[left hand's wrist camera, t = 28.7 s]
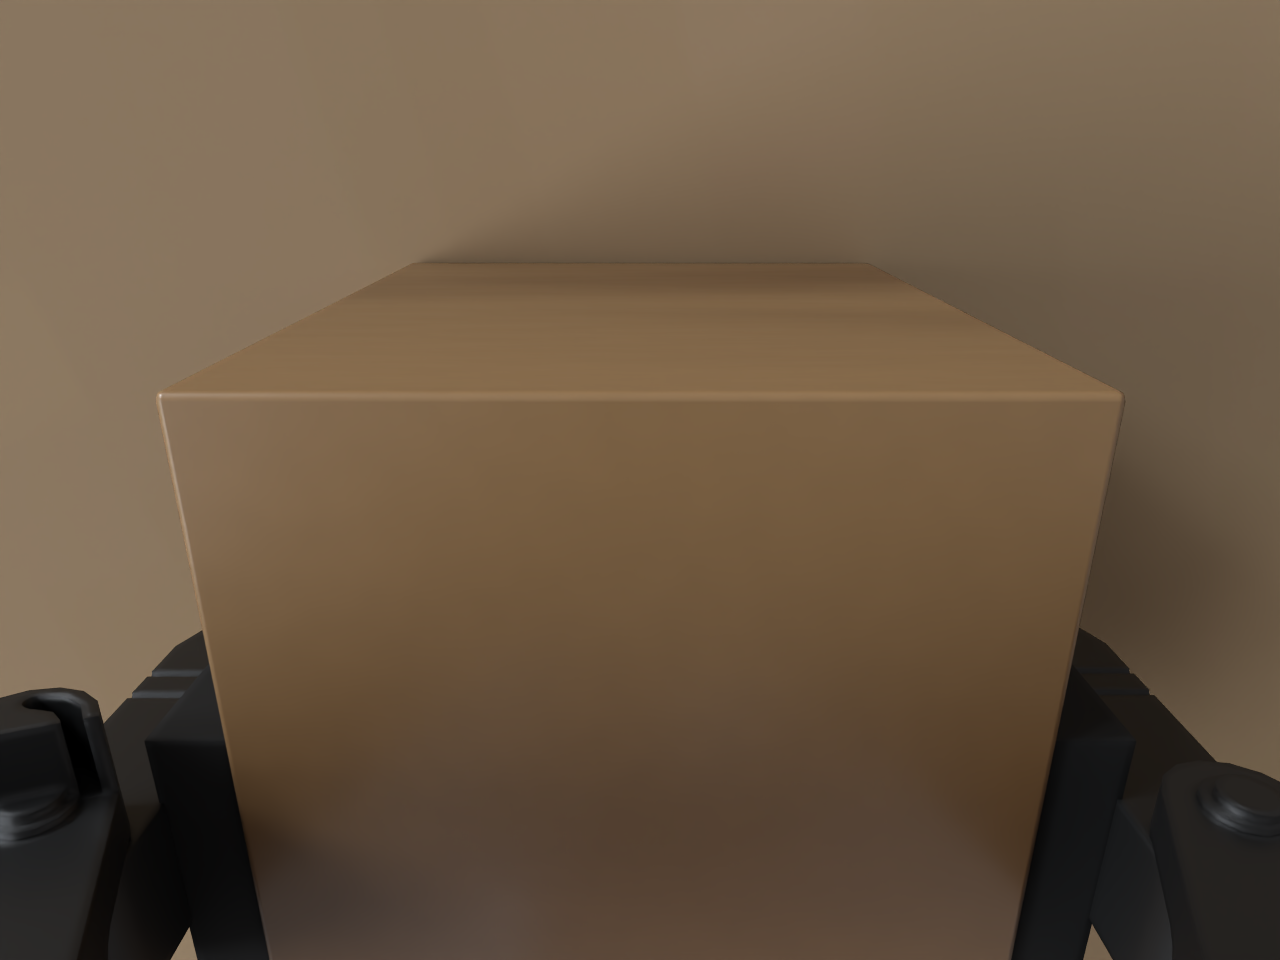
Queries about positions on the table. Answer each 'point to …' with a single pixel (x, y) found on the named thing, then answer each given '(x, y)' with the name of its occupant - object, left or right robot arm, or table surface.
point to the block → (640, 611)
